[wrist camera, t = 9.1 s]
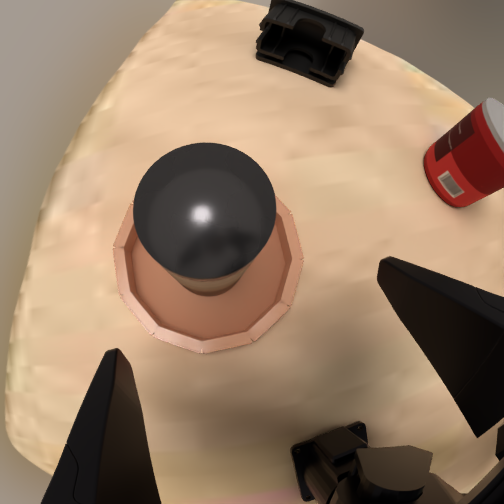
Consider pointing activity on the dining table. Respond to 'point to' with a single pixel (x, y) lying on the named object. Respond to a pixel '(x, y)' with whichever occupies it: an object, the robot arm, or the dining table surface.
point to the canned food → (469, 157)
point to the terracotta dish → (210, 307)
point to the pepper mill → (205, 215)
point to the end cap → (307, 41)
